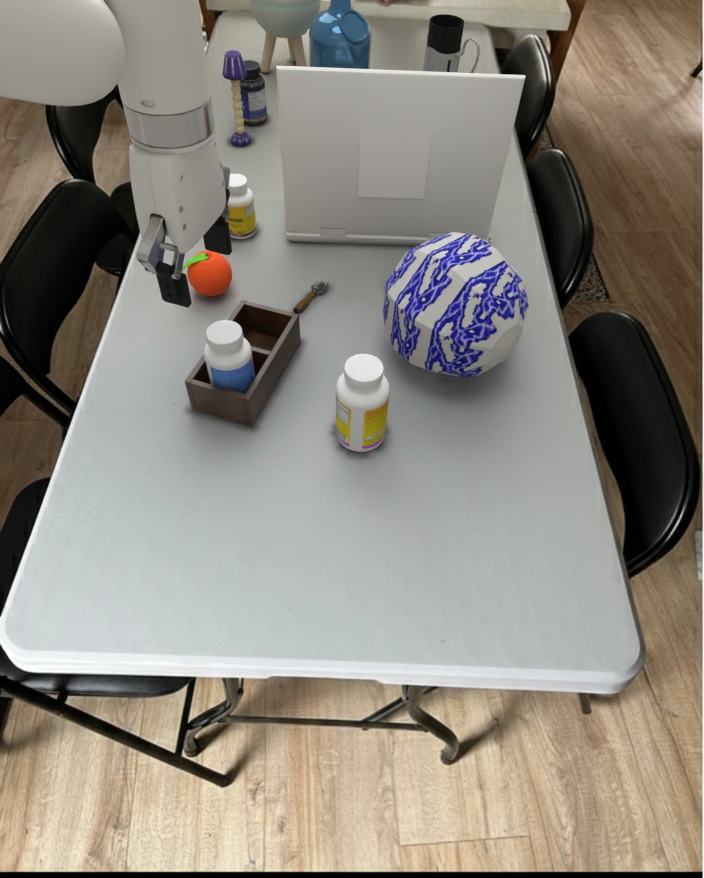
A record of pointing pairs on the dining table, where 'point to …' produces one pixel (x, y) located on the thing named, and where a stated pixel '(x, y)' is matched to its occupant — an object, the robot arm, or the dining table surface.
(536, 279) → the dining table surface
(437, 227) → the laptop
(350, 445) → the supplement bottle
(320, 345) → the dining table surface
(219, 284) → the clementine
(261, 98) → the pill bottle
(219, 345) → the pill bottle
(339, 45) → the wine bottle
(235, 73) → the toy lamp
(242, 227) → the supplement bottle
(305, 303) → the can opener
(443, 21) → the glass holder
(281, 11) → the planter
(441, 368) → the ornament
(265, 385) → the caddy
